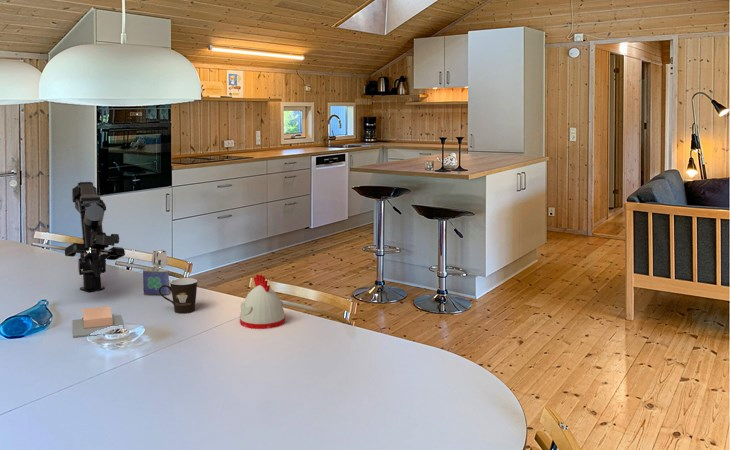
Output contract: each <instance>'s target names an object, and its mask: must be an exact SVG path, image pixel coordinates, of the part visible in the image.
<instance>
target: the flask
mask: <svg viewBox="0 0 730 450" xmlns="http://www.w3.org/2000/svg"><path fill="white" fill-rule="evenodd" d="M152 267H153V268H150V267H148V268H146V269H143V271H142V278H143V279H142V280H143V283H142V284H143V287H142V289H143V290H142V291H143V295H144V296H159V297H162V296H161V295H160V293H159V288H160V287H161V286H163V285H168V286H170V279H169V278H170V277H169V274H170V273H169V270H168V269H161V270H159V269H158V268H157V267H158V266H157V265H156V266H152ZM161 293H162V294H163V296H169V295H170V289H169V288H168V287H163V288H161Z"/></svg>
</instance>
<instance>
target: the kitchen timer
mask: <svg viewBox="0 0 730 450" xmlns="http://www.w3.org/2000/svg"><path fill="white" fill-rule="evenodd" d="M268 281H269V280H266V276H265V275H262V274H256V275H255V277H253V282H254V285H255V287H253V288H252V289H251V290H250V291H249V292H248V294H247V295H246V296H245V298H244V300H243V302H241V304H240V312H239V313H240V314H239V324H240V326H242V327H244V328H247V329H253V330H268V329H274V328H277V327H281V326H282V325H284V324H285V319H286V318H285V317H286V315H285V311H284V307H283V306H284V303H283V302H284V301H283V300H282V299H280V297H279V296H278V295H277V292H275V290H274V289H272V288H271V285H270V284H269V285H268Z"/></svg>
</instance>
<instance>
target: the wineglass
mask: <svg viewBox="0 0 730 450" xmlns="http://www.w3.org/2000/svg"><path fill="white" fill-rule="evenodd" d="M168 259H169V258H168V256H167V251H166V250H162V249H161V250H153V252H152V255H151V263H152V265H153V266H156V265H157V266H158V267H157V269H158V270H162V268H164V267H166V266H167V265H168V262H169V261H168ZM153 266H152V267H153Z"/></svg>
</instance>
